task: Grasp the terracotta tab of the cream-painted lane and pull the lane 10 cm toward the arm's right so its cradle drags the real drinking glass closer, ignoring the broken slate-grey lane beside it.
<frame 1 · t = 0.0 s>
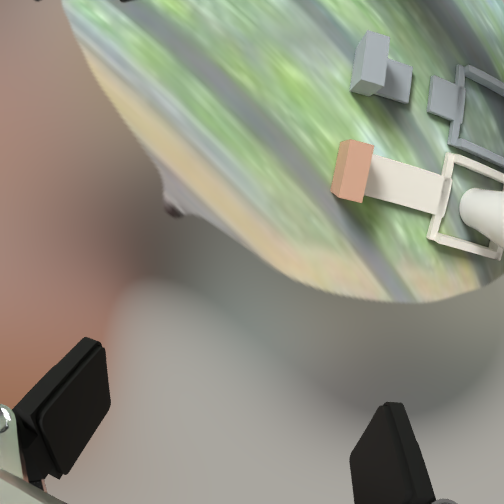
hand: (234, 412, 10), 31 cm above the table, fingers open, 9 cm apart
lane a: (442, 196, 33), point 3 cm above the table, slide at 0.0 cm
lane b broken: (362, 72, 33), on the table
drinking glass: (472, 206, 36), resting in lane a
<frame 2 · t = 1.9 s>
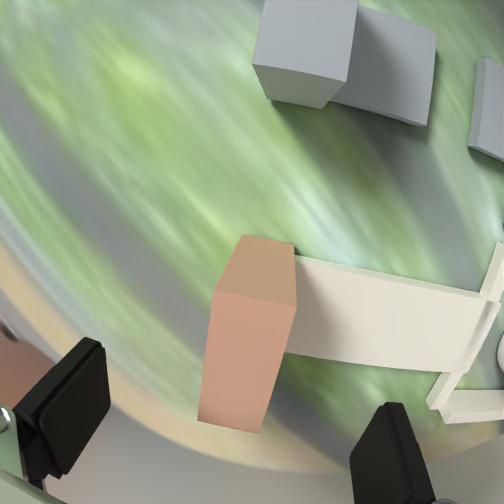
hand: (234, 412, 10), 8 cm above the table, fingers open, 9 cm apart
lane a: (475, 359, 13), point 3 cm above the table, slide at 0.0 cm
lane b broken: (304, 46, 13), on the table
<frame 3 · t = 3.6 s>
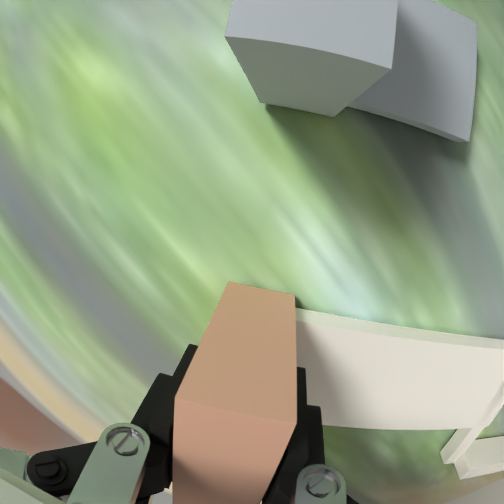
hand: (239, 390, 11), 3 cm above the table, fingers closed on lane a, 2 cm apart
lane a: (503, 421, 9), point 3 cm above the table, slide at 0.0 cm, touching gripper
lane b broken: (310, 34, 9), on the table
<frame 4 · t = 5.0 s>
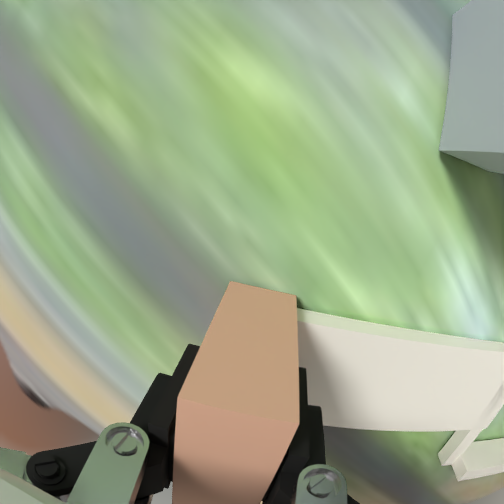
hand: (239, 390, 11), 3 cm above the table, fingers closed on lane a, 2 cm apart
lane a: (501, 423, 9), point 3 cm above the table, slide at 6.4 cm, touching drinking glass, gripper
lane b broken: (472, 90, 9), on the table
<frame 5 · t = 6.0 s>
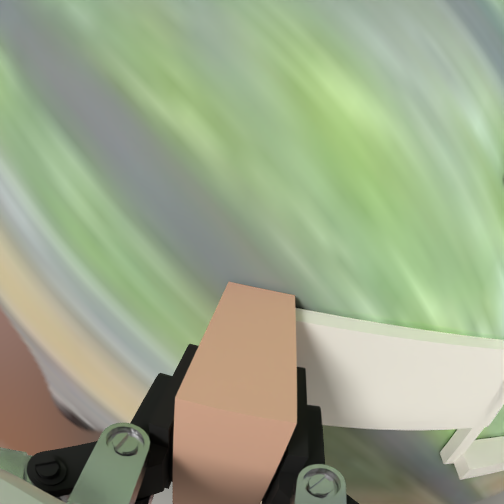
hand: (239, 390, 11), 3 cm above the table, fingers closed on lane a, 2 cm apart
lane a: (503, 421, 9), point 3 cm above the table, slide at 9.9 cm, touching drinking glass, gripper
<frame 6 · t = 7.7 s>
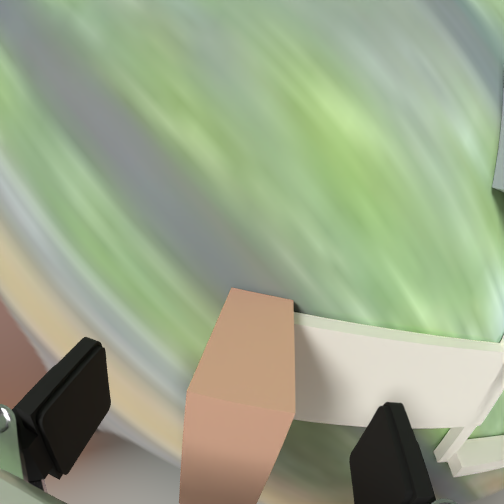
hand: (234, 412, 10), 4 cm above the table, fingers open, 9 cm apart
lane a: (493, 419, 10), point 3 cm above the table, slide at 10.0 cm
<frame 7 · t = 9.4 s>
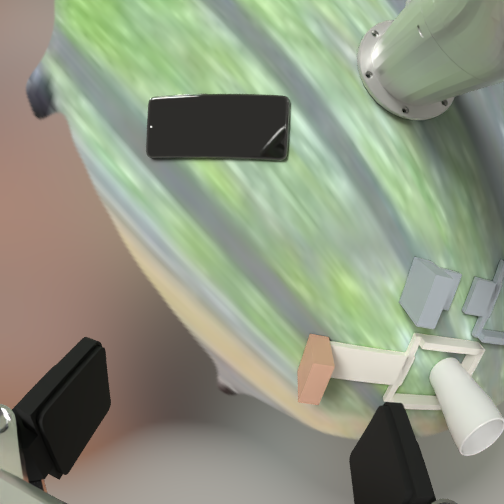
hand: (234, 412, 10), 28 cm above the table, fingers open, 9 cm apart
lane a: (399, 380, 36), point 3 cm above the table, slide at 10.0 cm
lane b broken: (414, 281, 36), on the table
smartphone: (216, 126, 34), on the table
drinking glass: (443, 369, 39), resting in lane a
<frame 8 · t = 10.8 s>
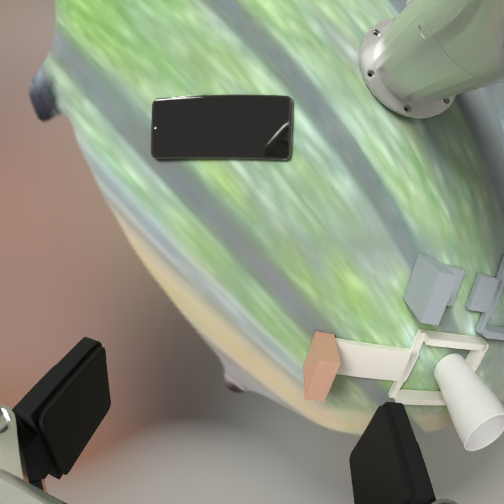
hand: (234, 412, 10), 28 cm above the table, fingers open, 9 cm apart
lane a: (403, 376, 37), point 3 cm above the table, slide at 10.0 cm
lane b broken: (418, 277, 36), on the table
smartphone: (220, 126, 34), on the table
drinking glass: (447, 365, 40), resting in lane a
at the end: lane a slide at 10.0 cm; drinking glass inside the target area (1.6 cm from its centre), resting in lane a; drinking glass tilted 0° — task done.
